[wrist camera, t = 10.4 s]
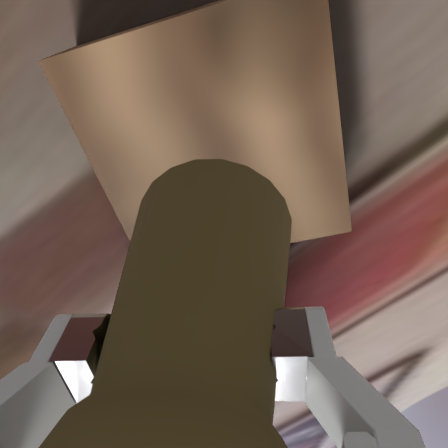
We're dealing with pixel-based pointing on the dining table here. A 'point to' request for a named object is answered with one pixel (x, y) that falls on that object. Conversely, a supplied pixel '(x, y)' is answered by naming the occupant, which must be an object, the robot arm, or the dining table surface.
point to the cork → (192, 319)
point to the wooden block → (214, 104)
